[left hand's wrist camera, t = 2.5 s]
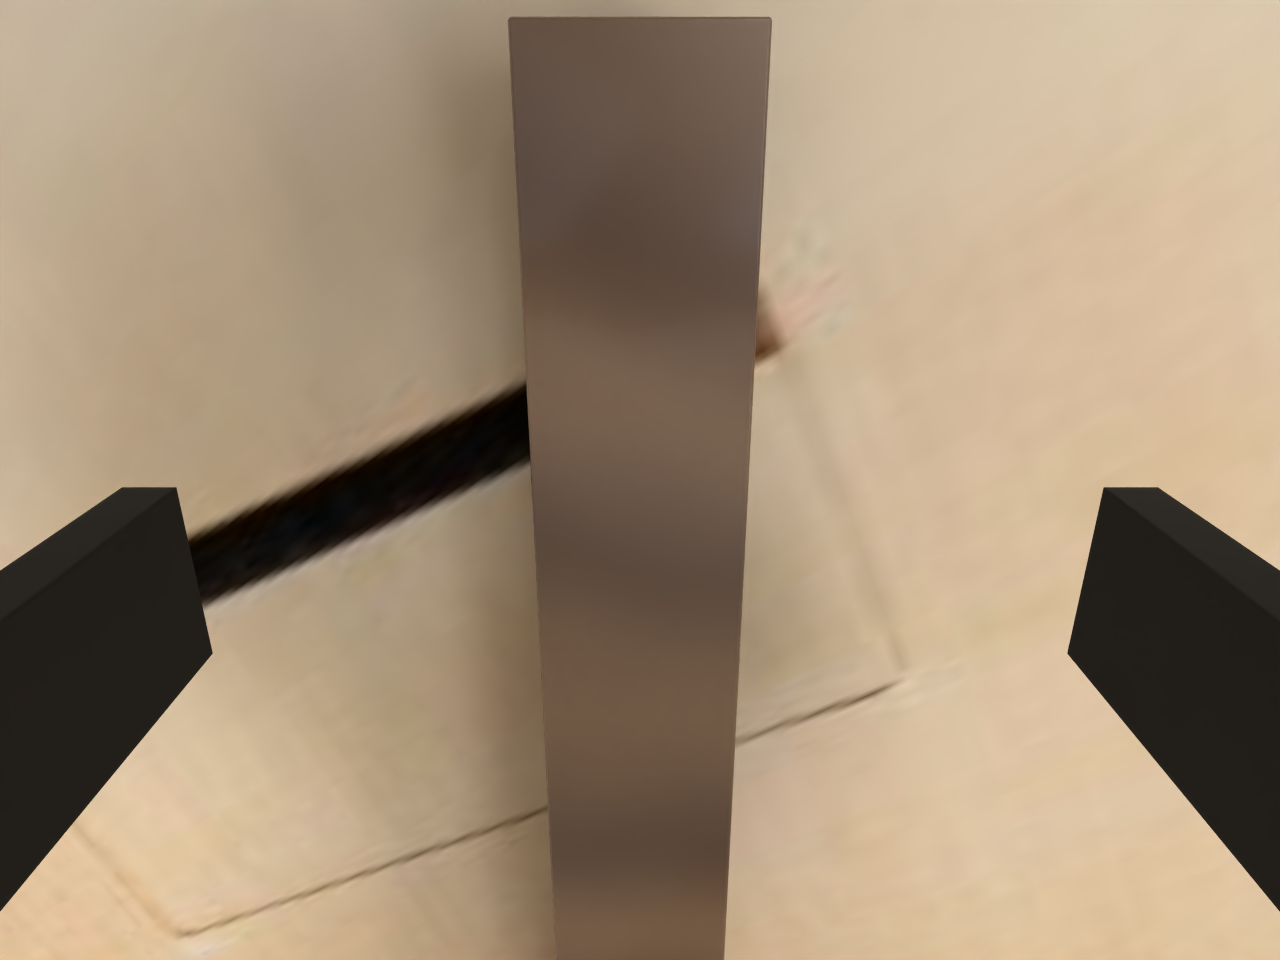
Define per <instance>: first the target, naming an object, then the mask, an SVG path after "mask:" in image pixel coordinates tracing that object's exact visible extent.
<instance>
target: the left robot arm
mask: <svg viewBox="0 0 1280 960" xmlns="http://www.w3.org/2000/svg"><path fill="white" fill-rule="evenodd" d="M212 654H213V653H212V648H211V644H210V639H209V635H208V630H207V626H206V621H205V616H204V612H203V607H202V603H201V598H200V594H199V589H198V584H197V580H196V575H195V571H194V566H193V562H192V557H191V552H190V548H189V543H188V539H187V534H186V530H185V525H184V521H183V516H182V511H181V507H180V502H179V498H178V493H177V489H176V487H122V488H121V489H119V490H118V491H116V492H115V493H113V494H112V495H110V496H109V497H107V498H106V499H105V500H103V501H102V502H100V503H99V504H97V505H96V506H94V507H93V508H91V509H90V510H88V511H87V512H85V513H84V514H83V515H81V516H80V517H78V518H77V519H75V520H74V521H72V522H71V523H69V524H68V525H66V526H65V527H63V528H62V529H61V530H59V531H58V532H56V533H55V534H53V535H52V536H50V537H49V538H47V539H46V540H44V541H43V542H41V543H40V544H39V545H37V546H36V547H34V548H33V549H31V550H30V551H28V552H27V553H25V554H24V555H22V556H21V557H20V558H18V559H17V560H15V561H14V562H12V563H11V564H9V565H8V566H6V567H5V568H3V569H2V570H0V911H1V910H2V909H3V907H4V906H5V905H6V904H7V903H8V901H9V900H10V899H11V898H12V897H13V895H14V894H15V893H16V892H17V890H18V889H19V888H20V887H21V886H22V884H23V883H24V882H25V881H26V879H27V878H28V877H29V876H30V875H31V873H32V872H33V871H34V870H35V869H36V867H37V866H38V865H39V864H40V862H41V861H42V860H43V859H44V858H45V856H46V855H47V854H48V853H49V852H50V850H51V849H52V848H53V847H54V845H55V844H56V843H57V842H58V841H59V839H60V838H61V837H62V836H63V835H64V833H65V832H66V831H67V830H68V828H69V827H70V826H71V825H72V824H73V822H74V821H75V820H76V819H77V818H78V816H79V815H80V814H81V813H82V811H83V810H84V809H85V808H86V807H87V805H88V804H89V803H90V802H91V801H92V799H93V798H94V797H95V796H96V794H97V793H98V792H99V791H100V790H101V788H102V787H103V786H104V785H105V784H106V782H107V781H108V780H109V779H110V777H111V776H112V775H113V774H114V773H115V771H116V770H117V769H118V768H119V767H120V765H121V764H122V763H123V762H124V760H125V759H126V758H127V757H128V756H129V754H130V753H131V752H132V751H133V750H134V748H135V747H136V746H137V745H138V743H139V742H140V741H141V740H142V739H143V737H144V736H145V735H146V734H147V733H148V731H149V730H150V729H151V728H152V726H153V725H154V724H155V723H156V722H157V720H158V719H159V718H160V717H161V716H162V714H163V713H164V712H165V711H166V709H167V708H168V707H169V706H170V705H171V703H172V702H173V701H174V700H175V698H176V697H177V696H178V695H179V694H180V692H181V691H182V690H183V689H184V688H185V686H186V685H187V684H188V683H189V681H190V680H191V679H192V678H193V677H194V675H195V674H196V673H197V672H198V671H199V669H200V668H201V667H202V666H203V664H204V663H205V662H206V661H207V660H208V658H209V657H210V656H211V655H212ZM1067 654H1068V655H1069V656H1070V657H1071V658H1072V660H1073V661H1074V662H1075V663H1076V664H1077V666H1078V667H1079V668H1080V669H1081V671H1082V672H1083V673H1084V674H1085V675H1086V677H1087V678H1088V679H1089V680H1090V681H1091V683H1092V684H1093V685H1094V686H1095V688H1096V689H1097V690H1098V691H1099V692H1100V694H1101V695H1102V696H1103V697H1104V698H1105V700H1106V701H1107V702H1108V703H1109V705H1110V706H1111V707H1112V708H1113V709H1114V711H1115V712H1116V713H1117V714H1118V716H1119V717H1120V718H1121V719H1122V720H1123V722H1124V723H1125V724H1126V725H1127V726H1128V728H1129V729H1130V730H1131V731H1132V733H1133V734H1134V735H1135V736H1136V737H1137V739H1138V740H1139V741H1140V742H1141V743H1142V745H1143V746H1144V747H1145V748H1146V750H1147V751H1148V752H1149V753H1150V754H1151V756H1152V757H1153V758H1154V759H1155V760H1156V762H1157V763H1158V764H1159V765H1160V767H1161V768H1162V769H1163V770H1164V771H1165V773H1166V774H1167V775H1168V776H1169V777H1170V779H1171V780H1172V781H1173V782H1174V784H1175V785H1176V786H1177V787H1178V788H1179V790H1180V791H1181V792H1182V793H1183V794H1184V796H1185V797H1186V798H1187V799H1188V801H1189V802H1190V803H1191V804H1192V805H1193V807H1194V808H1195V809H1196V810H1197V811H1198V813H1199V814H1200V815H1201V816H1202V818H1203V819H1204V820H1205V821H1206V822H1207V824H1208V825H1209V826H1210V827H1211V828H1212V830H1213V831H1214V832H1215V833H1216V835H1217V836H1218V837H1219V838H1220V839H1221V841H1222V842H1223V843H1224V844H1225V845H1226V847H1227V848H1228V849H1229V850H1230V852H1231V853H1232V854H1233V855H1234V856H1235V858H1236V859H1237V860H1238V861H1239V862H1240V864H1241V865H1242V866H1243V867H1244V869H1245V870H1246V871H1247V872H1248V873H1249V875H1250V876H1251V877H1252V878H1253V879H1254V881H1255V882H1256V883H1257V884H1258V886H1259V887H1260V888H1261V889H1262V890H1263V892H1264V893H1265V894H1266V895H1267V897H1268V898H1269V899H1270V900H1271V901H1272V903H1273V904H1274V905H1275V906H1276V907H1277V909H1278V910H1279V911H1280V570H1278V569H1277V568H1275V567H1274V566H1272V565H1271V564H1269V563H1268V562H1266V561H1265V560H1263V559H1262V558H1260V557H1259V556H1258V555H1256V554H1255V553H1253V552H1252V551H1250V550H1249V549H1247V548H1246V547H1244V546H1243V545H1241V544H1240V543H1238V542H1237V541H1236V540H1234V539H1233V538H1231V537H1230V536H1228V535H1227V534H1225V533H1224V532H1222V531H1221V530H1219V529H1218V528H1217V527H1215V526H1214V525H1212V524H1211V523H1209V522H1208V521H1206V520H1205V519H1203V518H1202V517H1200V516H1199V515H1197V514H1196V513H1195V512H1193V511H1192V510H1190V509H1189V508H1187V507H1186V506H1184V505H1183V504H1181V503H1180V502H1178V501H1177V500H1175V499H1174V498H1173V497H1171V496H1170V495H1168V494H1167V493H1165V492H1164V491H1162V490H1161V489H1159V488H1158V487H1104V489H1103V493H1102V498H1101V502H1100V507H1099V511H1098V516H1097V521H1096V525H1095V530H1094V534H1093V539H1092V543H1091V548H1090V552H1089V557H1088V562H1087V566H1086V571H1085V575H1084V580H1083V584H1082V589H1081V594H1080V598H1079V603H1078V607H1077V612H1076V616H1075V621H1074V626H1073V630H1072V635H1071V639H1070V644H1069V648H1068V653H1067Z"/></svg>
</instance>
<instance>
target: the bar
mask: <svg viewBox="0 0 1280 960" xmlns="http://www.w3.org/2000/svg"><path fill="white" fill-rule="evenodd" d="M508 29H509V49H510V69H511V88H512V108H513V127H514V147H515V166H516V186H517V206H518V225H519V245H520V264H521V284H522V304H523V323H524V343H525V362H526V382H527V401H528V421H529V441H530V460H531V480H532V499H533V519H534V539H535V558H536V578H537V597H538V617H539V636H540V656H541V676H542V695H543V715H544V734H545V754H546V774H547V793H548V813H549V832H550V852H551V871H552V891H553V911H554V930H555V950H556V960H724V950H725V930H726V911H727V891H728V871H729V852H730V832H731V813H732V793H733V773H734V754H735V734H736V715H737V695H738V676H739V656H740V636H741V617H742V597H743V578H744V558H745V538H746V519H747V499H748V480H749V460H750V441H751V421H752V401H753V382H754V362H755V343H756V323H757V303H758V284H759V264H760V245H761V225H762V206H763V186H764V166H765V147H766V127H767V108H768V88H769V69H770V49H771V29H772V19H771V18H770V17H510V18H509V19H508Z"/></svg>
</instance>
